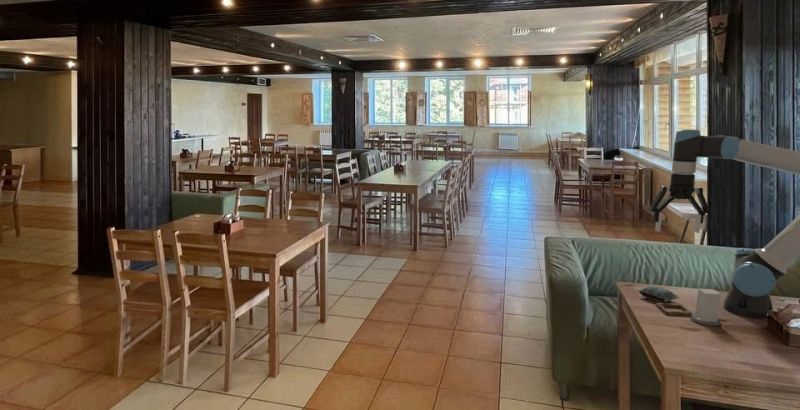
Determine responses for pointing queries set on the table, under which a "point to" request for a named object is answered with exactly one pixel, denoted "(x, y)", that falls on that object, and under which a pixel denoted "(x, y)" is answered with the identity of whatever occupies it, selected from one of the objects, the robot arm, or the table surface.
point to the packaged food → (658, 294)
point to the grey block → (707, 305)
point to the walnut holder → (683, 313)
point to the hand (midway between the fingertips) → (676, 231)
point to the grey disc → (704, 321)
